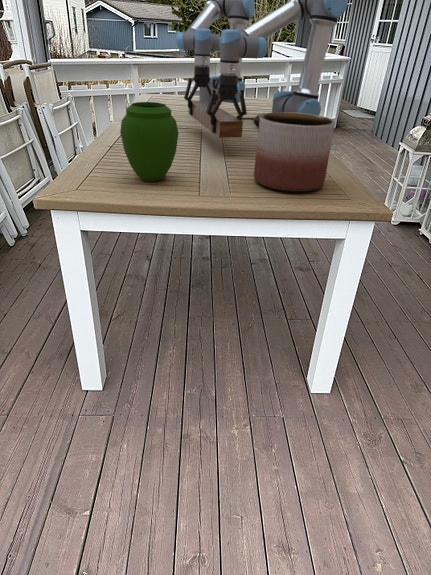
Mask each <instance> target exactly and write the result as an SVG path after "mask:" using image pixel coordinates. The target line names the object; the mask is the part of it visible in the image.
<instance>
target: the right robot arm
mask: <svg viewBox="0 0 431 575" xmlns="http://www.w3.org/2000/svg"><path fill="white" fill-rule="evenodd" d="M348 2H349V0H287V1H286V3H284V4H283V5H281V6H279V7H278V8H276V9H275V10H272V11H271V12H269V13H268V14H266V15H265V16H263V17H261V18H259V19H258V20H257V21H255V22H253V23H252V24H250V25H249V26H246V28H245V29H244V30H242V31H240V30H230V28H229V29H224V28H223V30H222V31H221V35H220V38H221V42H220V44H221V47H220V49H219V50H220V52H219V53H220V54H219V88H218V89H211V97H210V101H209V104H208V107H207V111H206V114H208V115H210V124H211V125H212V132H211V133H213V134H214V133H215V130H216V117H215V116H214V115H215V114H216V112H217V110H218V108H220V107H221V105H222V103H224V102H223V100H232V102H233V103H232V104H233V106H234V108H235V110H236V112H237V115H236V116H235V117H236V118H238V119H240V120H241V121H243V119H242V118H244V116H247V115H248V114H247V113H248V112H247V106H246V101H245V92H244V90H242V89H240V90H239V89H237V82H238V76H237V75H236V74H238V66H239V58H242V59H256V60H258V59H263V58H264V57H265V56H266V54H267V51H268V42H267V39H268V38H270V37H271V36H272V35H274V34H275V33H277V32H279V31H281V30H282V29H284V28H285V27H287V26H289V25H290V24H292V23H298V22H300V21H302V20H303V19H307V18H309V23H310V24H311V28H310V32H309V36H308V41H307V46H306V50H305V54H304V59H303V63H302V68H301V71H300V72H301V73H300V77H299V80H298V81H299V82H298V86H297V88H295V89H294V90H290V91H289V90H288V91H287V90H286V91H285V90H283V91H275V92H274V94H273V98H272V108H271V113H272V112H295V113H306V114H313V115H319V116H321V112H322V111H321V110H322V106H321V103H320V101H319V98H320V94H319V92H318V88H319V83H320V79H321V76H322V72H323V71H322V70H323V66H324V63H325V58H326V54H327V50H328V47H329V43H330V38H331V34H332V30H333V28H334V27H335V26H337V25H338V21H339V18H340V17H342V16H343V14H344V13H346V11H347V8H348V5H349V3H348ZM217 92H218V93H219V95H220V96H219V98H218V100H217V102H216V104H215V106H214V108H213V110H212V107H213V103H214V100H215V95H217ZM237 92H238V94H239V97H240V102H239V103H240V105H239V103H237V100H236V97H235V95H236V94H237ZM240 107H241V108H240ZM211 110H212V111H211Z"/></svg>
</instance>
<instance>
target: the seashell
mask: <svg viewBox="0 0 431 575" xmlns="http://www.w3.org/2000/svg"><path fill="white" fill-rule="evenodd" d="M262 114H266V113H265V112H262V113H259V114H257V115H256V116H255V117H253V118H254V119H252V121H253V125H254V126H255V127H257V128H259V122H260V116H261V115H262Z"/></svg>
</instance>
